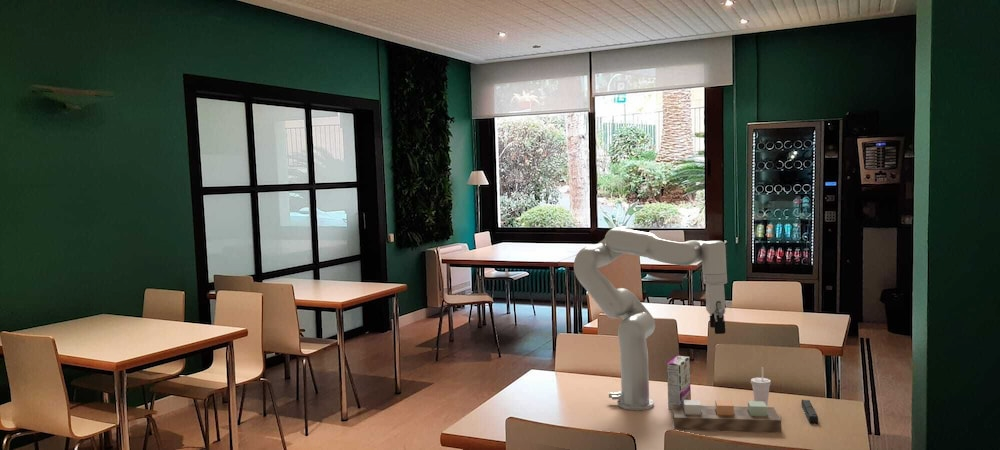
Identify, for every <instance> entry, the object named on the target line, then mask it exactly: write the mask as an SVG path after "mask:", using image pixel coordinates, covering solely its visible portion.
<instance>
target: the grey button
mask: <svg viewBox="0 0 1000 450" xmlns="http://www.w3.org/2000/svg"><path fill="white" fill-rule="evenodd" d="M701 406H702V404H701V401H700V399H691V400H684V414H693V415H701Z"/></svg>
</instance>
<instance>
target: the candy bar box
mask: <svg viewBox="0 0 1000 450" xmlns="http://www.w3.org/2000/svg"><path fill="white" fill-rule="evenodd" d="M690 360H691V359H690V356H685V355H675V356H674V357H673V358H672V359H671V360H670V361H668V362H667V363H666V372H667V373H666V375H667V379H666V380H667V404H668V406H667V407H668V408H667V409H668V410H669V411H672V405H684V400H692V396H691V395H692V394H691V393H692V392H691V367H690V365H691V363H690V362H691V361H690Z"/></svg>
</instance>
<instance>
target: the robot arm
mask: <svg viewBox="0 0 1000 450" xmlns="http://www.w3.org/2000/svg"><path fill="white" fill-rule="evenodd" d="M726 251H727V250H726V244H725V242H724V241H722V240H706V241H705V240H696V239H695V240H694V239H692V240H686V241H683V242H679V241H674V240H673V241H672V240H667V239H662V238H659V237H657V236H656V234H655V233H653V232H647V231H642V230H641V231H640V230H634V229H633V228H631V227H630V226H626V225H621V226H616V227H613V228H611V229H609V230H608V231H607V232H606V234H605V235H604V238H603V239H602V240H600V241H599V242H598V243H595V244H592V245H588V246H587V245H586V246H584V247H582V249H580V250H579V251H578V252H577V254H576V256H575V258H574V261H573V271H574V275H575V278H576V279H577V281H578V282H579V283H580V285H581V286H582V287H583V288H584V290H586V291H587V293H588V294H589V295H590V297H591V298H592V299H593V300H594V302H595V303H596V304H597V305H598V307H599V308H600V310H601V311H602V312H603V313H604V315H606V316H607V317H608V318H610V319H618V318H621V319H622V320H621V322H620V323H619V324H618V325H619V326H618V329H617V337H618V339H617V340H618V344H619V354H620V356H619V357H620V379H621V381H620V385H621V389H620V391H617V392H611V391H609V392H608V398H609V399H612V400H614V401H615V400H617V401H616V402H617V404H618V405H617V406H618V407H619V408H621V409H623V410H629V411H645V410H649V409H652V408H653V407H654V405H655V404H654V403H655V402H654V400H653V399H652V398H650V380H649V377H650V376H649V373H650V372H649V353H648V352H649V351H648V346H647V345H648V344H647V339H648V337H650V336H651V335H652V334H654V331H655V328H656V323H655V319H654V316H653V315H652V314H651V312H649V310H648V309H647V308H646V306H645V305H644V304H643V303H642V302H641V301H640V299H639V298H638V296H636V295H635V294H634V293H633V292H632V291H631V290H629V289H627V288H624V287H619V288H616V287H615V286H614V284H612V282H611V281H610V279H608V277H606V276H605V275H604V274H603V273H602V272H600V270H599V269H600V268H601V267H605V266H607V265H609V264H611V263H612V262H613V261H615V260H616V259H618V258H619V257H620V256H622V255H623V254H626V255H633V256H638V257H643V258H648V259H649V260H654V261H658V262H660V263H665V264H670V265H675V266H683V267H684V266H685V267H686V266H691V265H693V264H696V263H698V262H701V263H702V264H701V266H702V267H701V268H702V283H703V284H704V285H705V310H706V311H707V313H708V314H709V326H710V328H713V329H714V334H715V335H723V334H725V333H726V321H725V314H726V295H725V284H727V283H728V274H727V271H728V270H727V252H726Z"/></svg>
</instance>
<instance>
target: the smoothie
mask: <svg viewBox="0 0 1000 450" xmlns="http://www.w3.org/2000/svg"><path fill="white" fill-rule="evenodd" d="M771 381H772V380H771V379H769V378H766V377H764V367H761V377H752V378H751V379H750V384H751V385H752V387H751V388H752V393H753V401H763V402H765V404H766V406H767V407H768V401H769V395H770V386H771V384H772V382H771Z"/></svg>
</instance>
